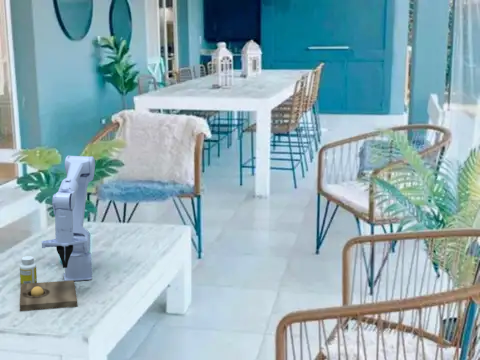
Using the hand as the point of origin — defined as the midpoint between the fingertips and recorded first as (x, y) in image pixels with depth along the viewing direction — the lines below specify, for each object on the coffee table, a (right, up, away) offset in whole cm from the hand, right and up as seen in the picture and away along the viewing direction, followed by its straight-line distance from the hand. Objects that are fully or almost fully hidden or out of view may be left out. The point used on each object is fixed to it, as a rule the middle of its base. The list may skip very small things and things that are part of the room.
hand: (65, 266), depth 219 cm
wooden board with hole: (-5, -10, -2) cm, 11 cm away
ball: (-8, -8, -3) cm, 12 cm away
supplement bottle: (-15, -7, +8) cm, 18 cm away
